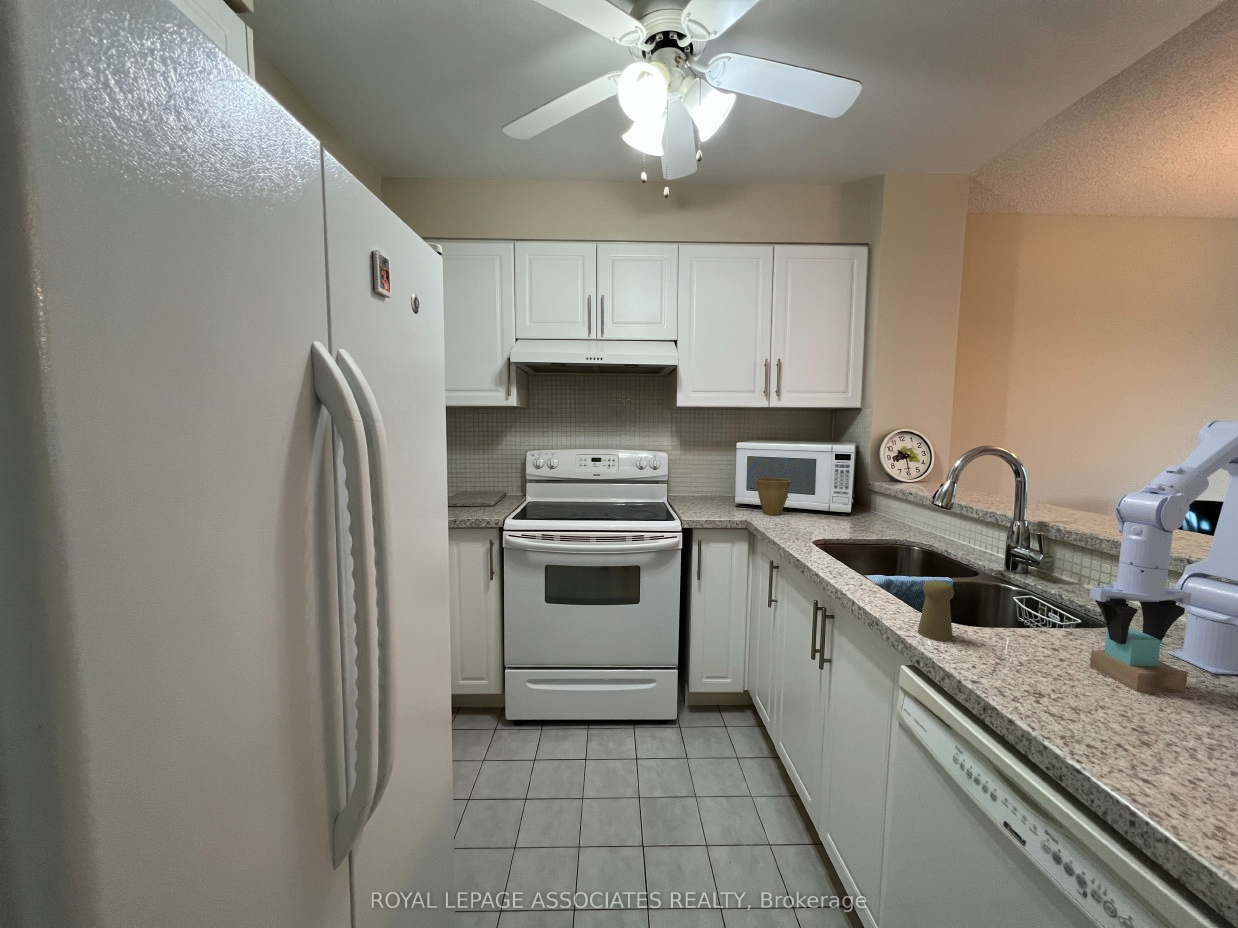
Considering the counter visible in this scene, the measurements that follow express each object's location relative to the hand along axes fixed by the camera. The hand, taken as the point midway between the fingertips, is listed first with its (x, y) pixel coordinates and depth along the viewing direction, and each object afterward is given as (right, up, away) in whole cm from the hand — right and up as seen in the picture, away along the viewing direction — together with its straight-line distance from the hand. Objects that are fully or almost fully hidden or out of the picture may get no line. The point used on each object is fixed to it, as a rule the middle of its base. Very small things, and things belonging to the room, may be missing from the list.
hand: (1134, 642), depth 85 cm
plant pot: (-18, +7, +144) cm, 145 cm away
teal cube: (0, -3, 0) cm, 3 cm away
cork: (-24, -5, +16) cm, 29 cm away
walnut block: (0, -7, 0) cm, 7 cm away
